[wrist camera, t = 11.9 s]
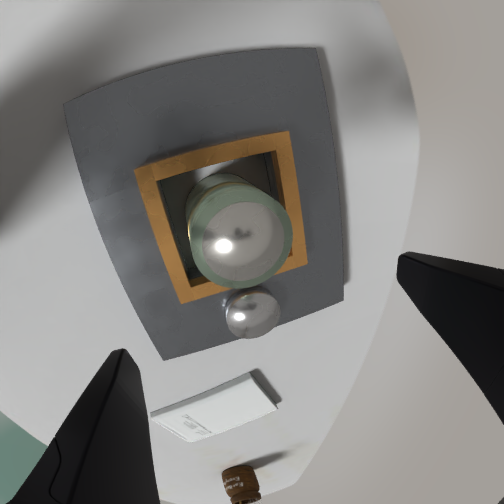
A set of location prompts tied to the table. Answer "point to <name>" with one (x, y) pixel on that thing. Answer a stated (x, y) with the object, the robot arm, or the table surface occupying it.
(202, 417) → the external hard drive
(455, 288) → the robot arm
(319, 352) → the table surface
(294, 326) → the table surface
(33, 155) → the table surface
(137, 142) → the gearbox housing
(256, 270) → the can
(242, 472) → the utensil holder
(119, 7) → the table surface
